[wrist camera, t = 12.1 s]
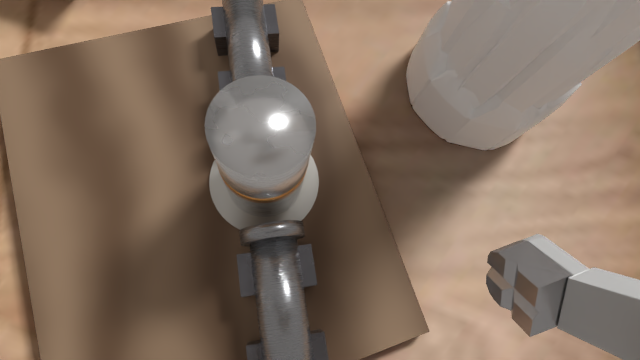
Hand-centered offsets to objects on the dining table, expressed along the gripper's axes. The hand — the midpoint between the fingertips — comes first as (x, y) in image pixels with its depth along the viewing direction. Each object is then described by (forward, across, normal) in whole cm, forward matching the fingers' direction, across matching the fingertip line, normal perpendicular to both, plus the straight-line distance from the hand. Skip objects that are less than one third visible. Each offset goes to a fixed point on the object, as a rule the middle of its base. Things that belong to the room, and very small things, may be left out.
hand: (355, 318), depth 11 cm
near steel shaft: (+11, +2, +10) cm, 15 cm away
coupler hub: (+17, 0, +5) cm, 17 cm away
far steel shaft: (+23, -1, -1) cm, 23 cm away
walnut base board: (+18, +4, +5) cm, 19 cm away
